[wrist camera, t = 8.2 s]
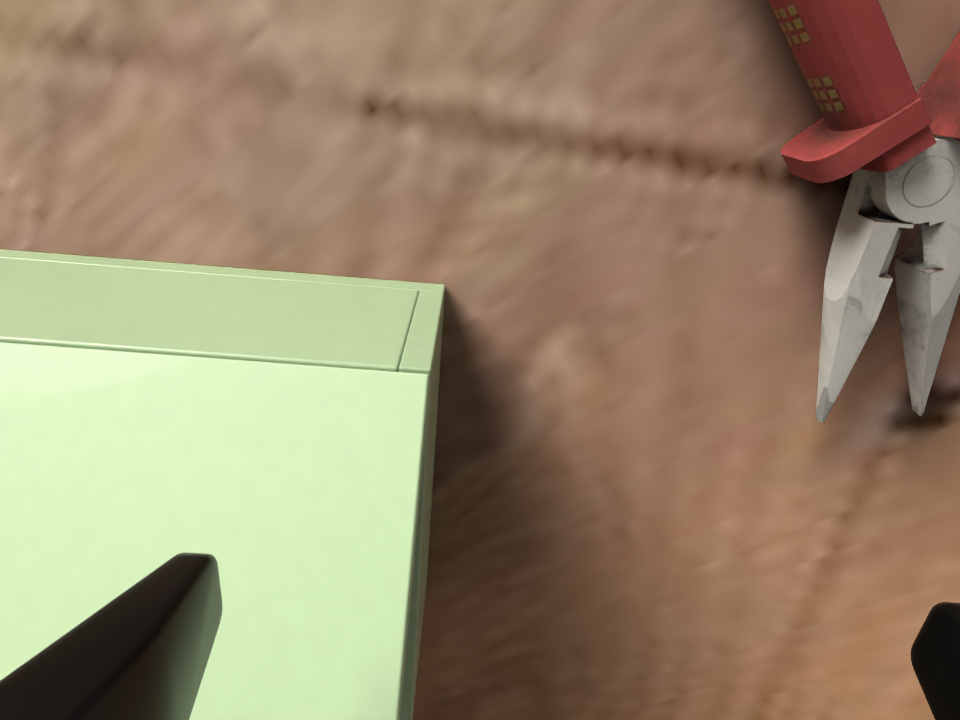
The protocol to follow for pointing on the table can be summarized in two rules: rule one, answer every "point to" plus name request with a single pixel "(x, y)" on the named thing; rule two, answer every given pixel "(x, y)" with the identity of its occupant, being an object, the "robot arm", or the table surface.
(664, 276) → the table surface
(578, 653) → the table surface
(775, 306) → the table surface
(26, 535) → the lid
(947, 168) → the pliers
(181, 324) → the box
